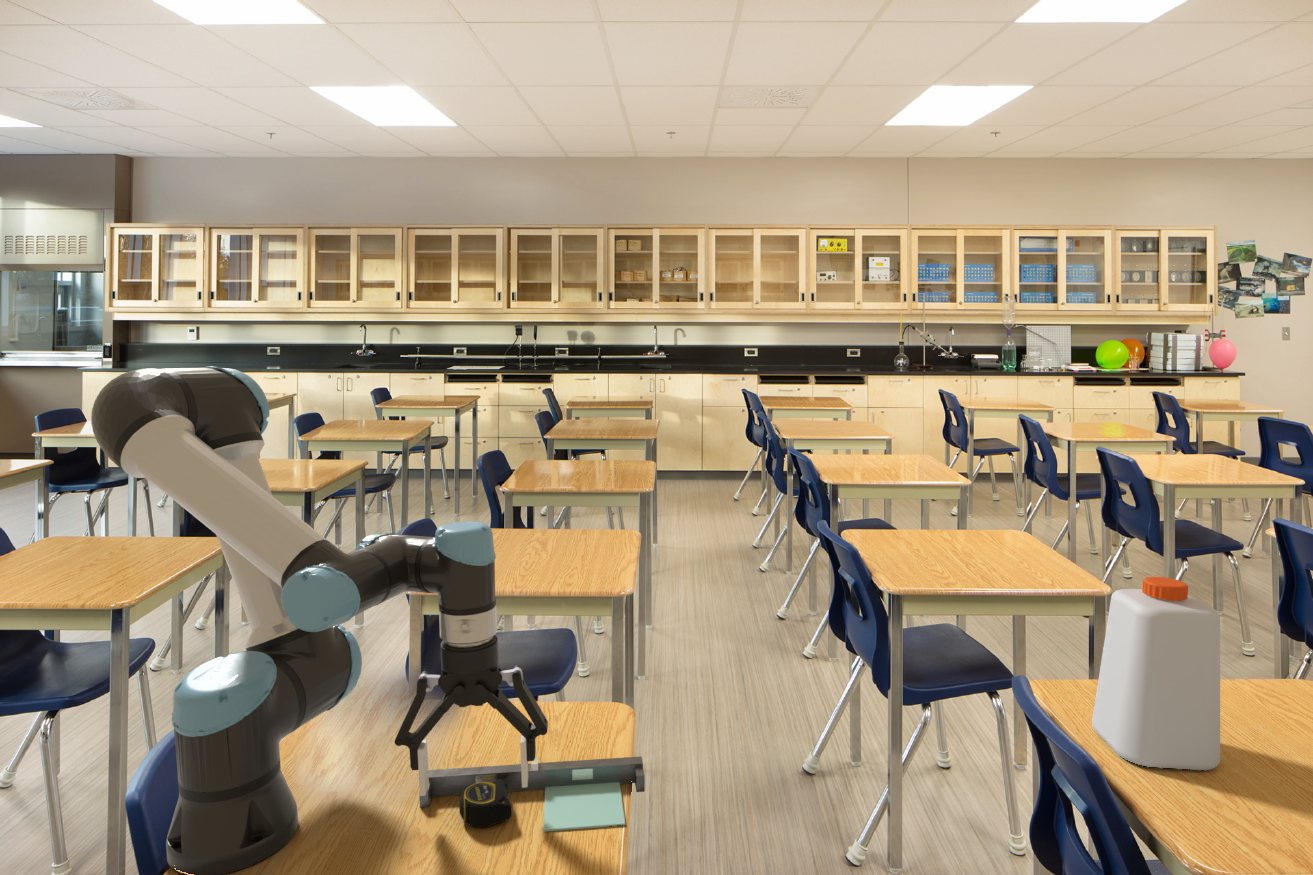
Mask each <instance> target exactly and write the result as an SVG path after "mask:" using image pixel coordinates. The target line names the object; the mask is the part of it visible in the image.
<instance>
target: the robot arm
mask: <svg viewBox="0 0 1313 875" xmlns="http://www.w3.org/2000/svg"><path fill="white" fill-rule="evenodd" d="M268 418H270V406H269V402H268V399H267V396H266V394H265V392H264V391H263V388H261V386H260V385H259V384H258V382H256V380H254V379H253V377H251V376H250V375H248V374H246V373H244V372H242V371H240V370H238V369H234V368H227V367H226V368H225V367H219V366H212V365H211V366H203V367H179V368H177V367H176V368H175V367H174V368H139V369H134V370H130V371H126V372H124V373H121V374H119V375H118V376H116V377H114V378H112V379H111V380H110V381H109V382H108V383H107V384H105V385H104V387H102V388H101V390H100V391H99V393H98V394H97V395H96V397H95V400H94V403H93V404H92V408H91V418H90V419H91V420H90V422H91V428H92V433H93V435H94V437H95V438H94V439H95V440H96V443H97V444H98V446H99V448H101V450H102V451H103V453H104V454H105V455H106V456H107V457H108V459H109V460H110V461H112V462H113V464H115V465H116V466H117V467H118V468H120V469H121V470H123V471H124V473H126V474H128V475H129V476H131V477H132V478H137V479H145V478H146V479H147V480H148V481H150V482H151V483H152V484H153V485H154V486H156V487H157V488H158V489H159V490H161V491H162V493H165V494H166V495H167V496H168V497H169V498H170V499H172V500H173V501H175V502H176V503H177V504H178V505H179V506H180V507H182V508H183V509H185V511H187V512H188V513H189V514H190V515H192V517H194V518H195V519H196V520H198V521H199V522H200V523H201V524H203V525H204V526H205V527H206V528H208V529H209V530H210V531H211V532H212V533H214V534H215V535H216V538H217V541H218V543H219V546H220V549H221V552H222V554H223V556H224V559H225V561H226V565H227V568H228V570H229V573H230V576H231V578H232V581H233V584H234V587H235V588H236V591H237V592H236V593H237V594H238V596H239V599H240V602H241V604H242V608H243V610H244V613H245V615H246V618H247V621H248V624H249V627H250V629H251V631H250V635H249V637H248V639H247V640H246V643H245V644H244V648H245V650H244V651H238V652H231V653H229V654H228V655H226V656H217V657H214V658H212V659H209V660H208V661H205V662H203V663H202V664H200V665H198V666H196V667H194V668H192V669H191V670H190V671H189V672H188V673H186V674H185V675H184V676H183V677H181V679H180V680H179V682H178V683H177V685H176V686H175V689H174V691H173V696H172V698H173V699H172V704H173V705H172V708H173V709H172V712H171V724H172V727H173V733H174V742H175V756H176V768H177V769H176V770H177V782H178V783H177V784H178V799H177V802H176V805H175V808H174V812H173V816H172V819H171V822H170V826H169V829H168V832H167V836H166V840H165V849H166V861H167V864H168V866H169V868H171V869H172V870H173V868H176V870H180V871H182V872H186V873H188V874H194V875H225V874H230V873H234V872H236V871H241V870H243V869H245V868H248V867H250V866H253V865H255V864H257V863H260V862H262V861H263V860H265V859H267V858H269V857H271V856H272V855H273V854H276V853H277V852H278V851H279V850H280V849H282V848H283V847H284V846H285V845H286V844H287V843H288V842H290V840H292V838H293V836H294V835H295V833H296V832H297V829H298V826H299V815H298V814H299V813H298V805H297V802H296V800H295V798H294V795H293V793H292V791H291V789H290V787H289V784H288V782H287V780H286V779H285V777H284V774H283V772H282V769H281V768H282V767H281V752H280V742H281V740H282V739H283V738H286V737H287V736H289V735H290V734H292V733H293V732H295V731H296V730H298V729H299V728H301V727H302V726H304V725H305V724H308V722H310V721H312V720H313V719H315V718H316V717H318V716H320V715H321V714H322V713H324V712H329V711H331V710H332V709H333V708H334V707H336V706H337V705H338V704H339V703H340V702H341V701H342V700H344V699H345V698H346V697H348V696H349V695H350V694H351V693H352V692H353V690H354V689H355V688H356V686H357V683H358V681H359V679H360V678H361V674H362V668H363V657H362V656H363V655H362V652H361V648H360V645H359V642H358V641H357V639H356V637H355V636H354V634H353V633H352V632H351V631H350V630H346V627H345V626H343V625H342V624H345V623H347V622H349V621H351V619H352V618H353V617H355V616H357V615H359V614H361V613H364V612H365V611H367V610H369V609H371V608H372V607H375V606H378V605H381V604H382V603H384V602H386V601H389V600H390V599H392V598H394V597H396V596H398V595H401V594H403V593H406V592H407V593H408V592H414V593H423V594H424V593H425V594H437V600H438V618H439V619H438V620H439V621H438V622H439V638H440V639H442V641H441V642H440V662H441V664H440V665H441V672H440V674H430V672H429V671H427V670H424V671H422V672H421V673H420V674H419V677H418V680H417V682H416V694H415V696H414V698H413V700H412V703H411V704H410V706H409V708H408V711H407V713H406V716H405V718H404V720H403V721H402V724H401V726H400V728H399V729H398V732H397V735H396V737H395V739H394V744H395V746H397V747H401V746H405V747H407V748H408V750H409V762H410V766H409V767H410V770H411V771H418V782H419V783H418V785H419V786H418V787H419V790H420V794H419V797H420V796H426V792H427V789H428V786H429V773H428V770H429V759H428V758H429V757H428V740H427V739H426V737H427V736H428V735H429V733H430V732H431V731H432V730H433V728H435V726H436V725H437V723H438V722H440V720H441V719H442V718H443V717H444V715H445V714H446V713H447V712H448V711H449V710H450V708H452V706H454V705H456V706H458V708H467V707H469V706H474V707H483V705H484V704H486V703H488V705H489V706H490V707H492V709H493V710H496V711H497V712H498V713H500V715H501V716H502V717H504V719H506V720H507V722H509V723H510V725H511V726H512V727H514V729H515V730H516V731H517V732H518V733H520V735H521V736H520V764H521V775H522V788H524V787H528V764H529V762H531V761H534V759H535V757H536V754H537V752H536V750H537V749H536V738H537V737H538V736H545V735H547V733H548V729H549V727H548V724H549V722H548V719H547V717H546V715H545V714H544V712H543V711H542V709H541V707H540V705H539V704H538V702H537V700H536V699H535V697H534V695H533V693H532V692H531V690H530V687H529V686H528V685H527V683H526V682H525V680H524V674H523V668H522V666H521V665H519V664H516V665H515V666H514V667H513V668H512V669H506V670H502V669H501V668H500V664H499V642H498V640H499V639H498V638H499V637H497V635H496V634H497V632H498V615H497V614H498V612H497V611H498V610H497V608H498V606H497V605H498V604H497V601H496V600H497V597H496V569H495V568H496V566H495V562H496V559H497V556H496V553H495V545H494V544H495V543H494V533H493V529H492V528H491V527H490V525H488V524H487V523H484V522H483V521H482V522H480V521H471V520H469V521H453V522H448V523H445V524H442V525H440V526H439V527H438V528H437V529H436V530H435V534H434V535H435V536H421V535H420V536H419V535H410V534H409V535H408V534H399V533H395V532H386V533H382V534H381V533H374V534H373V533H372V534H369V535H367V536H365V537H363V538H362V539H361V542H360V543H359V544H357V545H356V547H355V549H354V550H353V551H351V552H347V553H346V552H344V551H343V550H341V549H340V548H339V547H338V546H336V545H335V544H334V543H332V542H331V541H330V540H328V539H327V538H325V537H324V536H323V535H322V534H321V533H319V532H318V531H317V530H316V529H314V528H312V527H311V525H309V524H308V523H307V522H305V521H304V520H303V519H301V518H300V517H299V516H298V515H297V514H295V512H293V511H292V510H290V509H289V508H288V507H286V506H285V505H284V504H282V502H280V500H277V498H275V497H274V496H273V494H272V491H271V488H270V486H269V484H268V480H267V478H266V475H265V473H264V470H263V468H262V465H261V462H260V459H259V456H260V453H261V452H262V450H263V448H264V446H265V440H264V438H263V436H262V435H263V433H265V431H266V429H267V427H268V425H269V421H268V420H267V419H268ZM502 681H505V682H506V683H507V685H508V686H509V687H513V690H514V693H515V694H516V696H517V698H518V699H519V701H520V702H521V704H522V706H523V708H524V710H525V712H526V713H527V715H528V716H529V718H530V720H529V719H528V718H527V717H526V716H525V714H523V713H522V711H521V710H520V709H518V708H517V707H516V705H515V704H513V702H512V701H511V700H509V698H508V697H507V696H505V693H504V692H503V690H502V689H501V688H499V686H500V685H501V684H502ZM435 686H438V687H439V688H440V689H441V691H442V692H443V693H444V694H443V695H442V697H441V699H440V700H439V701H438V703H437V704H436V705H435V706H434V707H433V709H432V710H431V711H430V713H429V714H427V716H426V717H425V719H424V720H423V721H422V722H421V723H420V725H419V726H418V727H417V728H416V730H415V731H413V732H411V731H410V730H411V728H412V727H413V724H414V722H415V720H416V718H417V716H418V713H419V711H420V708H421V707H422V705H423V703H424V701H425V698H426V695H427V693H430V692H432V691H433V689H434V688H435ZM419 790H418V791H419ZM174 865H175V866H174Z"/></svg>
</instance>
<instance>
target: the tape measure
mask: <svg viewBox="0 0 1313 875" xmlns="http://www.w3.org/2000/svg"><path fill="white" fill-rule="evenodd" d="M506 786H507V784H505V783H504V781H503V780H502V779H499V780H495V781H494V782H486V781H484V782H478V783H475V784H473V785H471V786H469V787H467V788H466V789H465V790H464V791H463V793H462V795H460V797H459V806H458V807H459V809H458V810H459V816H460V817H461V819H462V821H463V822H464V823H465V825H466V824H467V825H468V826H471V827H476V828H486V827H490V826H493V825H496V824H499V823H504V822H505V821H509V820H510V819H511V818H512V814H513V808H512V807H513V806H512V804H511V800H510V798H509V796H508V792H507V788H506Z"/></svg>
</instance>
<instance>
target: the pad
mask: <svg viewBox="0 0 1313 875" xmlns="http://www.w3.org/2000/svg"><path fill="white" fill-rule="evenodd" d="M543 807H544V810H543V813H544V814H543V833H545V832H556V831H557V832H558V831H569V830H572V831H573V830H584V829H594V828H595V829H597V828H610V827H609V826H612V827H618V826H617V825H621V826H620V827H623V826H626V818H625V812H624V806H623V798H622V790H621V784H620V782H614V783H599V784H584V785H570V786H555V787H545V789H544V806H543ZM622 825H623V826H622Z"/></svg>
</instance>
